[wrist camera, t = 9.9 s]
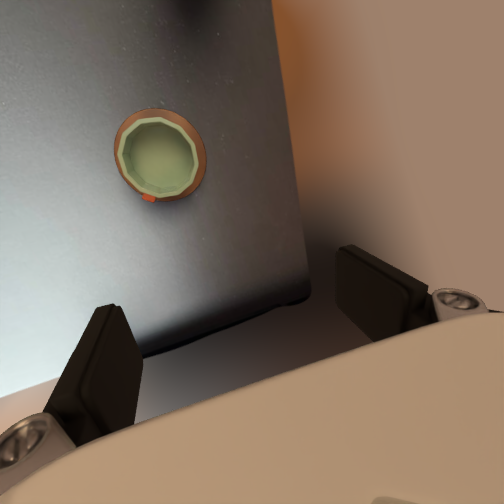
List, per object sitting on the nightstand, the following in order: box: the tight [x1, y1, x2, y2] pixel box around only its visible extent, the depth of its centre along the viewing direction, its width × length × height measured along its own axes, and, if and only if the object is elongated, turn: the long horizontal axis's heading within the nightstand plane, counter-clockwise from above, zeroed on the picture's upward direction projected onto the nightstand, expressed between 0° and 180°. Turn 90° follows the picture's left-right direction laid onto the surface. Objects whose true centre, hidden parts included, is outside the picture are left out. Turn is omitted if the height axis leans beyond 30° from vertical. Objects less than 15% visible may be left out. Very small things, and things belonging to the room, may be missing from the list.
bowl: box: [117, 117, 199, 203], centre depth 27 cm, size 8×7×5 cm
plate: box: [114, 108, 206, 201], centre depth 29 cm, size 10×10×1 cm
